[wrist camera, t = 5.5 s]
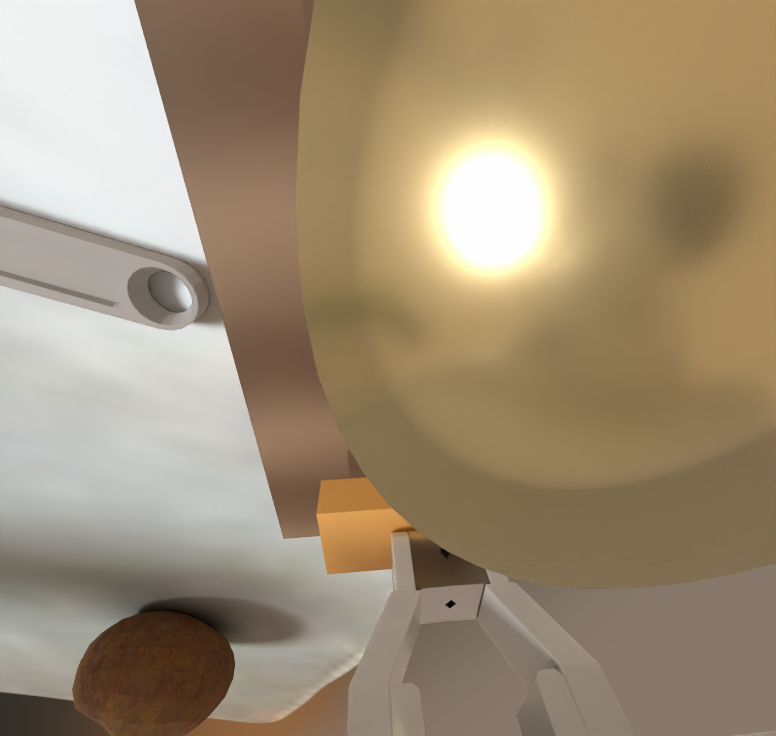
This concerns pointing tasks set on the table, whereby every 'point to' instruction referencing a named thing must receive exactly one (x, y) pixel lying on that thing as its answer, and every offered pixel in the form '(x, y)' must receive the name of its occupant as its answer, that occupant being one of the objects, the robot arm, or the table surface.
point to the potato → (154, 675)
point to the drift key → (356, 526)
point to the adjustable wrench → (91, 271)
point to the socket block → (252, 219)
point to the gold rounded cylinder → (550, 276)
